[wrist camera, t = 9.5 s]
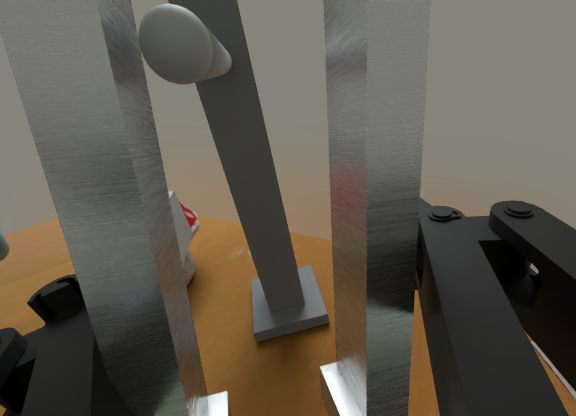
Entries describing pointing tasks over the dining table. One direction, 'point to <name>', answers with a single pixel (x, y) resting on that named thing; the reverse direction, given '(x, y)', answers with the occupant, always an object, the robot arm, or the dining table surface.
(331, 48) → the c link
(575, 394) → the condiment
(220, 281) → the dining table surface
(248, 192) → the hook stand
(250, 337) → the dining table surface
